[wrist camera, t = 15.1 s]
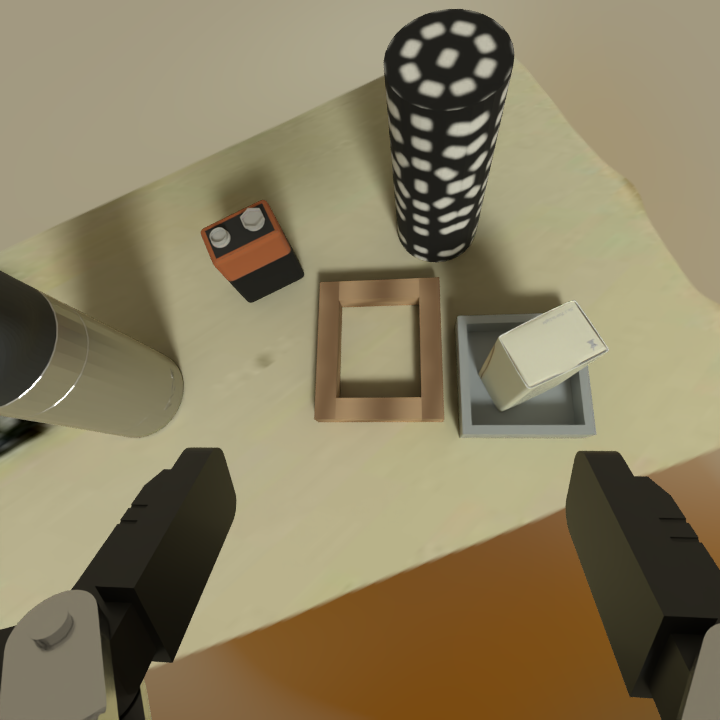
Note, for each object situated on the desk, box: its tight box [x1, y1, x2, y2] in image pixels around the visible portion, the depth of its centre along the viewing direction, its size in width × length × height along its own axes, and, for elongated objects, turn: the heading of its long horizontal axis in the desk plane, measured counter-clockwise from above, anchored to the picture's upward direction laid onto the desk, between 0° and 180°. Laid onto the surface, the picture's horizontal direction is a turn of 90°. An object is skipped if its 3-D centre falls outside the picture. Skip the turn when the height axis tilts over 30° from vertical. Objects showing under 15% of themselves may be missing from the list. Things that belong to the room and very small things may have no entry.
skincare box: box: [478, 300, 609, 412], centre depth 37 cm, size 6×4×12 cm
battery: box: [201, 200, 304, 303], centre depth 45 cm, size 4×7×10 cm, turn 116°
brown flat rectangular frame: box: [314, 277, 444, 422], centre depth 44 cm, size 12×14×2 cm
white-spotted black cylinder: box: [384, 9, 514, 262], centre depth 39 cm, size 8×8×20 cm
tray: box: [455, 313, 596, 438], centre depth 42 cm, size 11×11×3 cm
